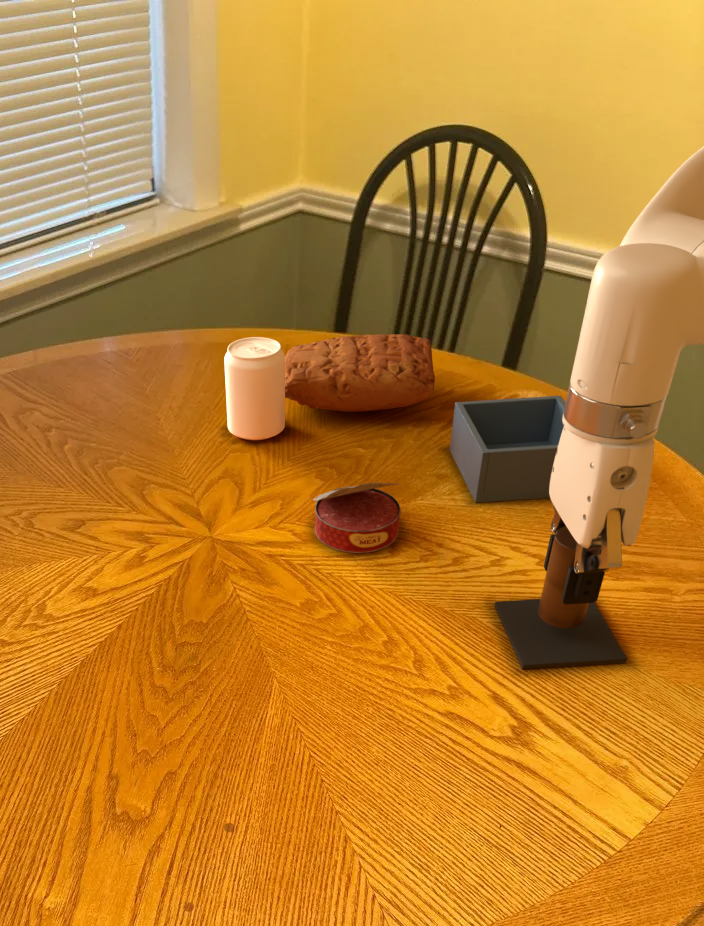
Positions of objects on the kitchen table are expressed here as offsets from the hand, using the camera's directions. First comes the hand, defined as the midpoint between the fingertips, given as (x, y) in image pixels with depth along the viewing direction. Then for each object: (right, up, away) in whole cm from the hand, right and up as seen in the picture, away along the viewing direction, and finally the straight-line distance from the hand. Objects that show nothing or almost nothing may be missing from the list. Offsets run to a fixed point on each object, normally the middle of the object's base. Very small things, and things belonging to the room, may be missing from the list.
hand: (569, 583), depth 85 cm
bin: (+4, +16, +28) cm, 33 cm away
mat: (0, -5, +4) cm, 6 cm away
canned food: (-17, +8, +20) cm, 28 cm away
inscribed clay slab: (-14, +30, +46) cm, 57 cm away
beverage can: (-28, +24, +41) cm, 55 cm away
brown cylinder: (0, -3, +2) cm, 4 cm away
